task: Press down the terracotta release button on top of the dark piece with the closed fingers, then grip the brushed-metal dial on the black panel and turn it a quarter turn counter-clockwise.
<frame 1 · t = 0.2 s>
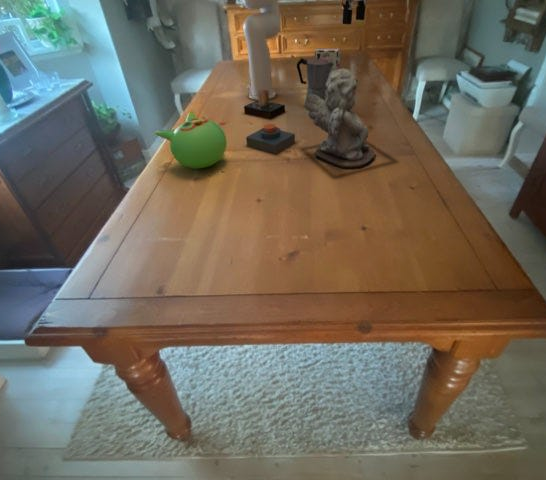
hand: (353, 21, 121), 31 cm above the table, tool pointing down, fingers open, 9 cm apart
toy bird: (202, 164, 113), on the table
dial panel: (264, 112, 146), on the table
dial: (263, 97, 142), point 6 cm above the table, hinge at 0.0°
moka pot: (314, 106, 150), on the table
release button: (269, 128, 119), point 5 cm above the table, slide at 0.1 cm
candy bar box: (326, 88, 169), on the table
dark piece: (271, 144, 123), on the table
angel statue: (346, 156, 114), on the table
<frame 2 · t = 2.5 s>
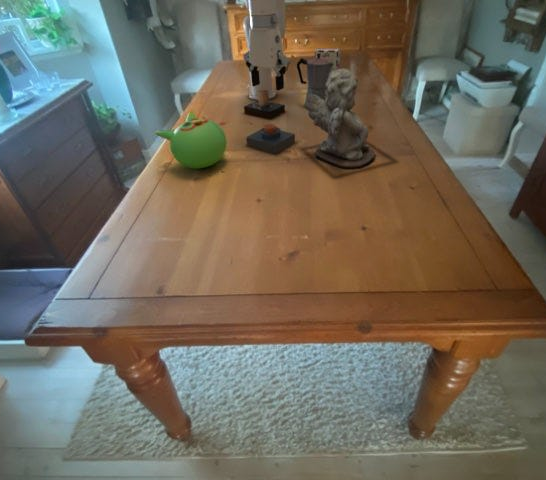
hand: (267, 87, 110), 19 cm above the table, tool pointing down, fingers open, 9 cm apart
nothing on the table moved.
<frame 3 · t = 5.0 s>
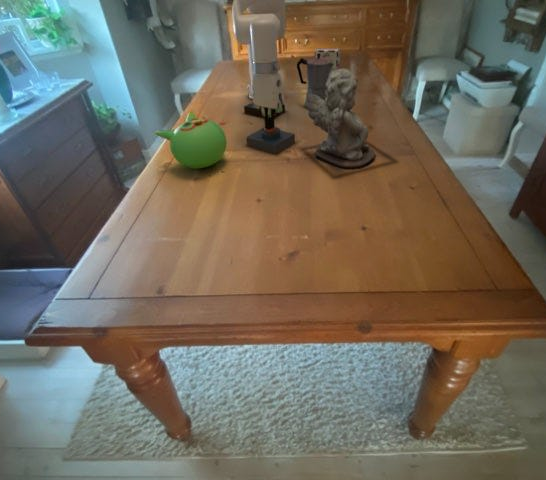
hand: (269, 127, 118), 6 cm above the table, tool pointing down, fingers closed
release button: (270, 130, 119), point 5 cm above the table, slide at -0.3 cm, touching gripper
everything else where it was.
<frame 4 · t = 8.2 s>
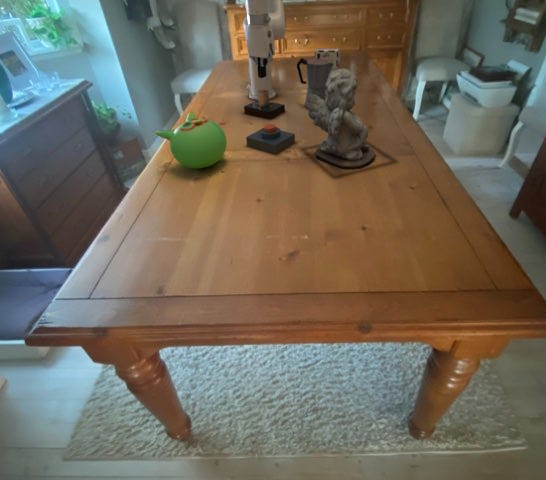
hand: (262, 76, 135), 14 cm above the table, tool pointing down, fingers closed
release button: (269, 128, 119), point 5 cm above the table, slide at 0.1 cm
everything else where it was.
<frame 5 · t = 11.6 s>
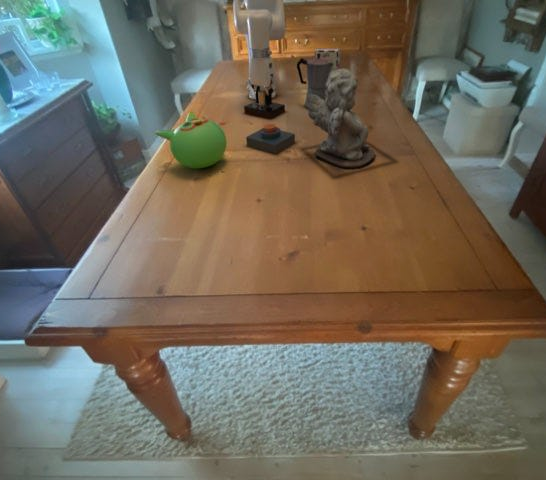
hand: (264, 103, 144), 4 cm above the table, tool pointing down, fingers closed on dial, 4 cm apart
dial: (263, 97, 142), point 6 cm above the table, hinge at 0.0°, touching gripper
everything else where it was.
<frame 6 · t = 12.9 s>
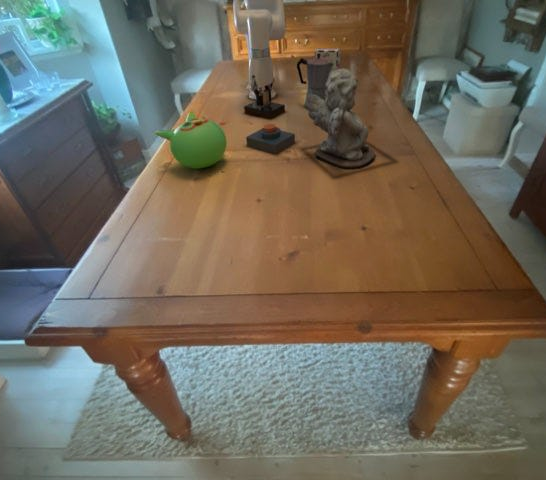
hand: (264, 103, 144), 4 cm above the table, tool pointing down, fingers closed on dial, 4 cm apart
dial: (263, 97, 142), point 6 cm above the table, hinge at 89.6°, touching gripper
everything else where it was.
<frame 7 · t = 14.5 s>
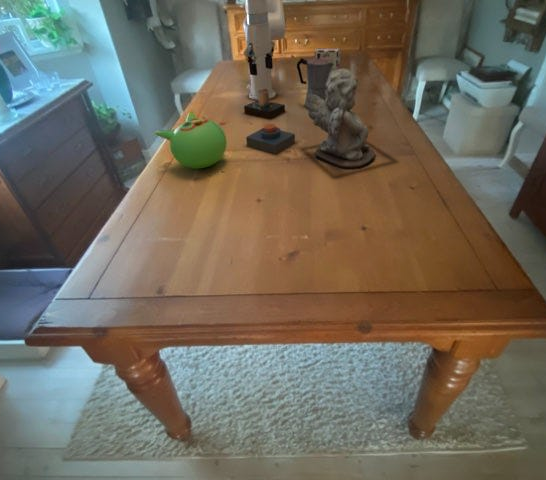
hand: (261, 71, 136), 16 cm above the table, tool pointing down, fingers open, 9 cm apart
dial: (263, 97, 142), point 6 cm above the table, hinge at 89.2°
everything else where it was.
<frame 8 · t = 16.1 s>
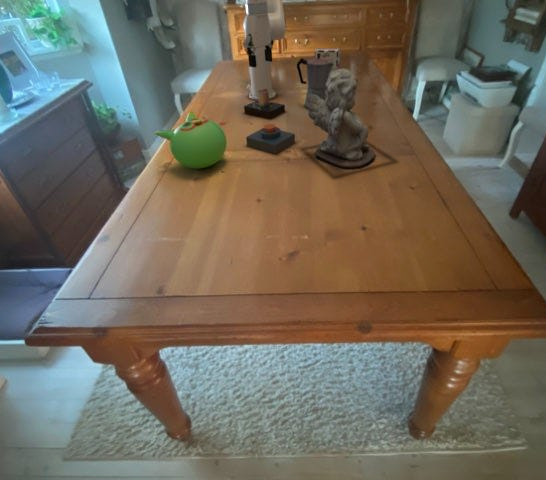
hand: (261, 64, 134), 18 cm above the table, tool pointing down, fingers open, 9 cm apart
nothing on the table moved.
at the end: release button pushed in 1.1 cm at the most during the clip, back to where it started at the end; release button slide at 0.1 cm; dial at +89° (first picture: +0°) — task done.
